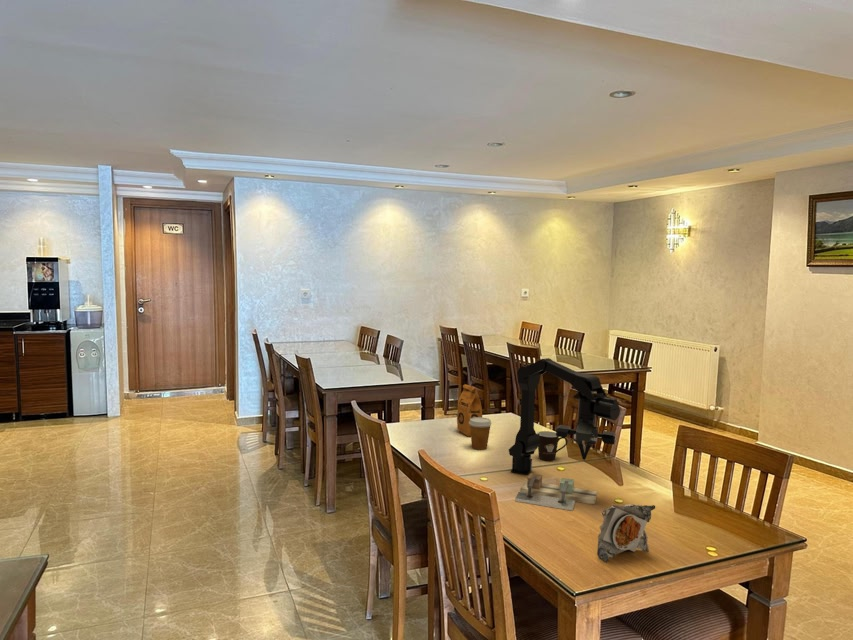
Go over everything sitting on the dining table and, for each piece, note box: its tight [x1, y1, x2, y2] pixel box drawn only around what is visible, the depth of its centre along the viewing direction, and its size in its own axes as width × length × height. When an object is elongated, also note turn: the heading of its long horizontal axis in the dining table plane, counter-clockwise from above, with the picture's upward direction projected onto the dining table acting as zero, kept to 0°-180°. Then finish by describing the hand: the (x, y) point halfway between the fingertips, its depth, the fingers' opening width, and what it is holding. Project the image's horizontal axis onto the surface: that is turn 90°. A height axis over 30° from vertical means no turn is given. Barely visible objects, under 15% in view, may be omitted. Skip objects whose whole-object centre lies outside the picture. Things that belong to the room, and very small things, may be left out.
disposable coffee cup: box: [469, 416, 492, 451], centre depth 235 cm, size 10×10×12 cm
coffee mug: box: [536, 430, 569, 462], centre depth 223 cm, size 12×9×10 cm
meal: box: [596, 503, 656, 564], centre depth 146 cm, size 15×4×13 cm, turn 113°
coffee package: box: [456, 383, 483, 438], centre depth 256 cm, size 10×12×22 cm
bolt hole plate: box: [514, 491, 576, 512], centre depth 180 cm, size 18×6×1 cm, turn 69°
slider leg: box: [559, 477, 575, 501], centre depth 182 cm, size 4×12×3 cm, turn 159°
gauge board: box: [519, 472, 598, 505], centre depth 184 cm, size 24×14×5 cm, turn 69°
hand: (584, 459), depth 187 cm, fingers closed
